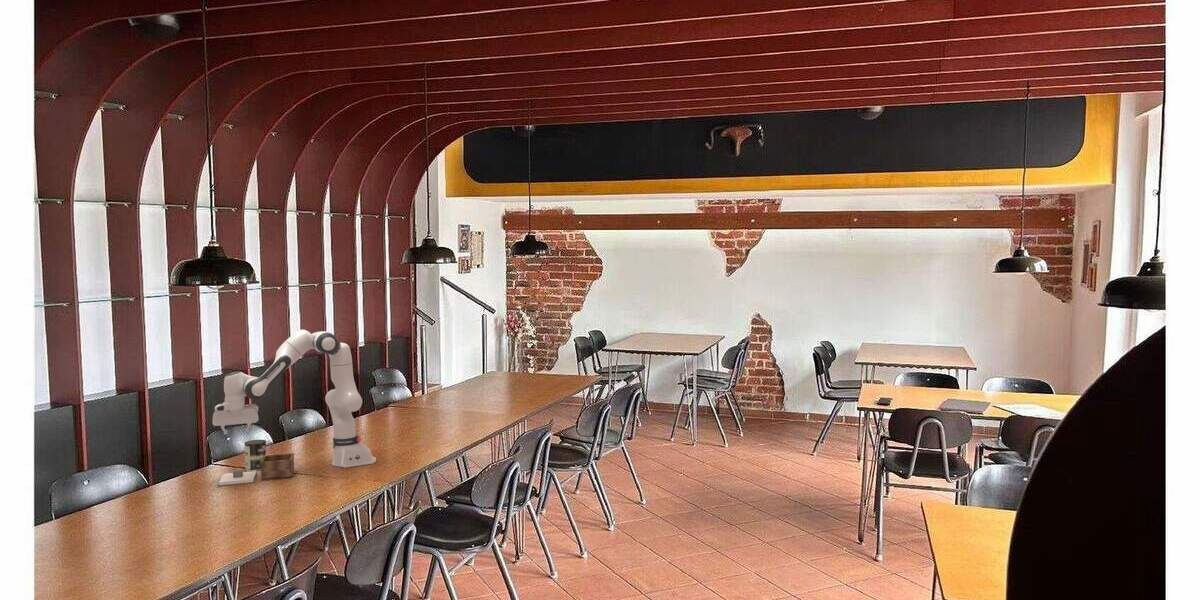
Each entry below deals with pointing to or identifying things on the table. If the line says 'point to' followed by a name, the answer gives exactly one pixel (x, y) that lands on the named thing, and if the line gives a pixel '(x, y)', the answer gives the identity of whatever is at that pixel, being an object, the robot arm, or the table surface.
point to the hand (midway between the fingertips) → (236, 433)
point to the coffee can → (254, 454)
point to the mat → (239, 483)
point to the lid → (238, 477)
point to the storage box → (277, 466)
